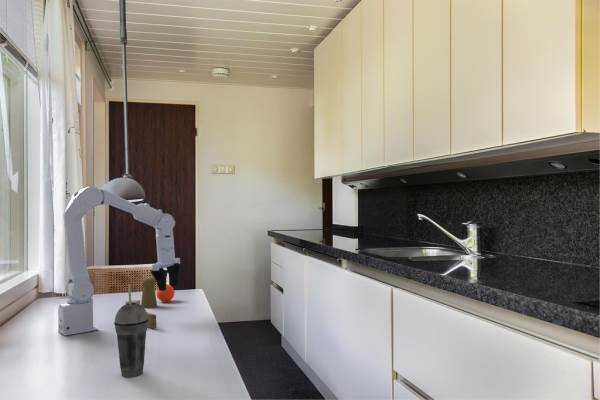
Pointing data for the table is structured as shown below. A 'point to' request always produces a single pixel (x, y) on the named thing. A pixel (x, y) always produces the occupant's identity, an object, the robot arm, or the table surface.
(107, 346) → the table surface
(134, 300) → the light wood block
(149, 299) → the cork
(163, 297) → the clementine
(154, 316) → the tong arm
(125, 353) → the beverage cup
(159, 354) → the table surface
